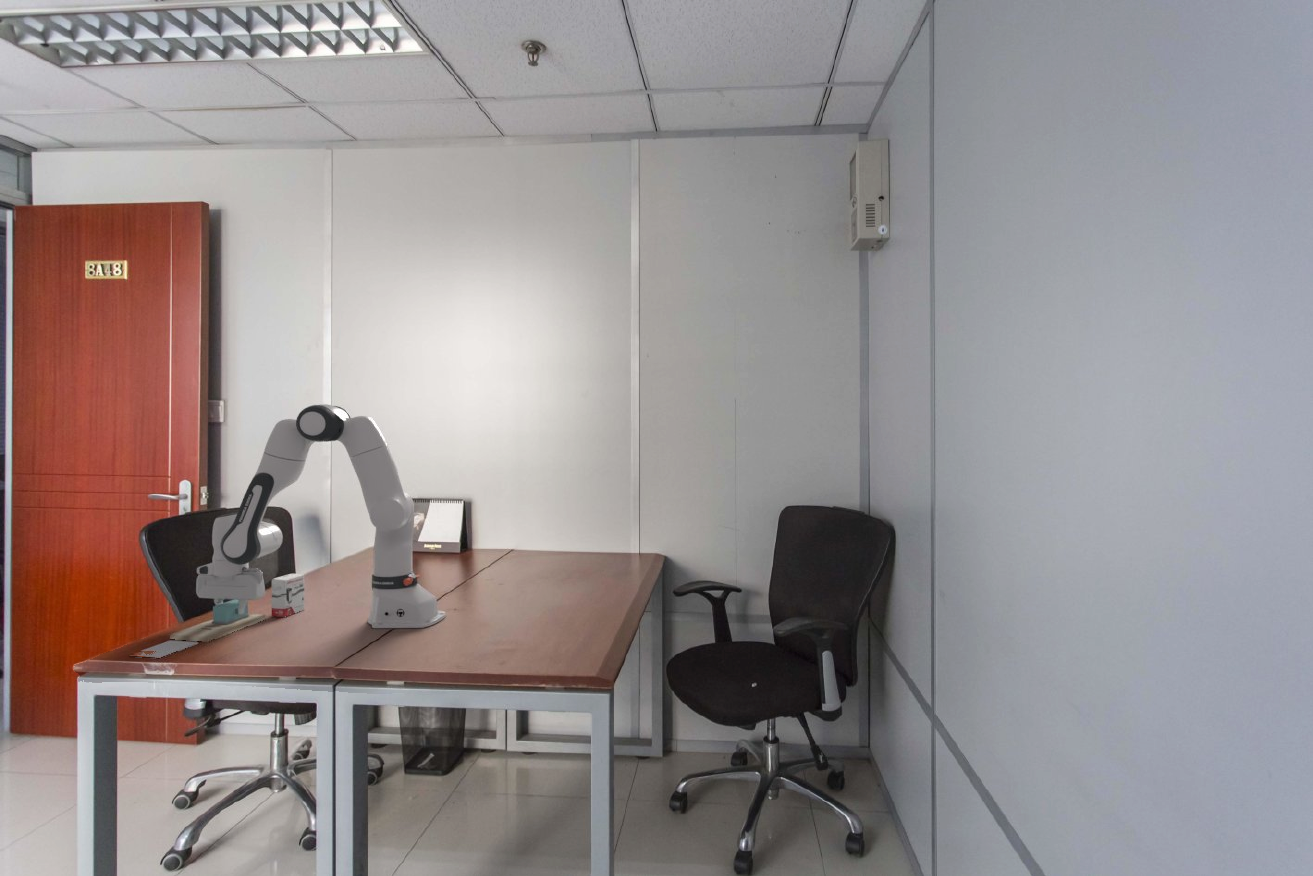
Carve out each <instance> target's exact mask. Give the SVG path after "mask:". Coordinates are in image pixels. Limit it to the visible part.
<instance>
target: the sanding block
mask: <svg viewBox="0 0 1313 876" xmlns="http://www.w3.org/2000/svg"><path fill="white" fill-rule="evenodd" d="M239 604H240V603H238V600H235V599H230V600H229V601H225V602H223V603H222V604H219V605H216V604H215V605H213V606H212V619H213V621H212V624H225V625H227V624H229V623H232V622H235V621H238V620H240V619H243V618H246V617H249V614H250V613H248V611H249V609H248V608H249V606H248V604H249V601H248V602H247V604H246V606H245V607H244V613H243V614H235V612H236V611H235V609H236V608H238V607H239Z"/></svg>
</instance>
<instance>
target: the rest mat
mask: <svg viewBox="0 0 1313 876" xmlns="http://www.w3.org/2000/svg"><path fill="white" fill-rule="evenodd" d="M198 644H199V642H197V641H182V640H170V639H169V640H167V641H165V642H162V643H158V644H156V645H153V646H151V647H148V648H145V649H142V650H141V651H154V652H155V651H156V652H155V653H154V652H153V654H152V653H151V654H152V655H151V654H150V655H149V654H147V655H146V654H145V653H144V652H143V653H142V654H141V655H137V656H146V657H155V658H154V659H156V658H160V659H162V658H161V657H163V656H165V657H167V656H166V655H168V654H170V655H172V654H171V653H173V652H176V651H178V652H181V651H183V650H185V648H186V649H188V647H189V648H191V647H193V646H196V645H198ZM176 653H177V652H176ZM173 654H174V653H173ZM168 656H169V655H168ZM163 658H164V657H163Z"/></svg>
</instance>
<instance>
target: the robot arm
mask: <svg viewBox="0 0 1313 876" xmlns="http://www.w3.org/2000/svg"><path fill="white" fill-rule="evenodd" d="M335 441H338V442H340V443H341V444H342V445H343V446H344V448H345V450H346V452H347V455H348V457H349V460H350V462H351V465H352V467H353V469H354V472H355V475H356V476H357V479H358V481H359V485H360V489H361V491H362V496H363V498H364V502H365V503H364V504H365V506H366V510H367V513H368V515H369V520H370V522H371V523H372V525H373V526H374V527H375V533H374V535H375V536H374V544H373V549H372V550H373V552H372V553H373V555H372V557H373V558H372V559H373V574H372V575H371V588H372V597H371V604H370V605H371V606H370V610H369V615H368V618H367V623H368V624H370V625H371V627H372V629H412V628H413V629H420V628H421V629H424V628H427V627H431V626H432V625H435V624H437V623H439V622H441V621H443V619H445V618H446V611H443V610H439V607H438V606H439V605H438V601H437V598H436V596H435V595H434V594H432V593H430V591H428V590H427V589H425V588H424V587H423V586H421V585H420V584H419V581H418V579H420V578H421V573H419V574H417V575H416V573H415V572H414V570H413V543H414V542H413V541H414V529H415V526H414V525H415V503H414V500H413V497H412V496H410V494H409V493H407V492H405V491H404V490H403V486H402V484H401V480H400V479H401V478H400V477H399V472H398V468H397V466H396V463H395V461H394V458H393V456H392V453H391V451H390V448H389V446H388V444H387V441H386V439H385V437H384V435H383V433H382V431H381V429H380V428H379V427H378V425H377V424H376V422H375V420H373V418H372V417H369V416H366V415H365V416H364V415H360V416H359V415H358V416H353V417H352V416H351V415H350V413H349V412H348V411H347V410H346V409H344V408H343V407H341V406H338V405H332V404H326V403H325V404H313V405H309V406H307V407H305V408H303V409H302V410H301V411H300V412H299V414H298V415H297V417H296V419H294V418H287V419H286V418H285V419H282V420H279V421H278V422H276V424H275V425H274V427H273V428H272V431H271V432H270V435H269V437H268V440H267V442H266V444H265V447H264V450H263V454H262V457H261V460H260V462H259V465H258V467H257V470H256V472H255V474H254V476H253V477H252V479H251V481H250V483H249V484H248V486H247V489H246V491H245V494H244V496H243V499H242V500H241V504H240V505H239V509H238V510H237V511H235V512H231V513H226V514H221V515H218V516H217V517H216V518H215V520H214V522H213V525H212V531H211V532H212V534H211V539H212V540H211V543H212V548H213V555H212V558H211V559H212V562H209V563H207V564H204V565H201V566H198V567H197V568H196V573H197V575H198V576H196V582H195V583H196V585H195V586H196V587H195V592H196V595H197V597H198V598H199V599H213V603H214V604H215V606H216V605H219V604H222V603H224V600H234V599H235V600H238V603H240V604H239V607H238V608H236V609H235V611H236V612H235V614H243V613H244V607H245V606H246V604H247V602H248V603H249V601H258V600H259V599H263V598H264V596H265V595H266V587H265V580H264V575H263V574H264V573H263V572H262V571H261V570H260V569H259V568H257V567H250V565H249V564H250V563H251V562H253V561H255V560H256V559H259V558H262V557H265V556H267V555H269V554H273V553H274V552H276V551H277V550H279V549H280V547H281V546H282V544H283V542H284V535H283V534H284V533H283V532H282V530H281V528H280V527H279V526H278V525H277V524H275V523H273V522H272V523H271V522H265V521H263V519H264V517H265V514H266V511H267V508H268V506H269V504H270V502H271V501H272V500H273V499H274V497H276V495H277V494H279V493H281V492H282V491H283V490H285V489H286V488H288V487H289V486H291V485H294V483H296V482H297V481H298V480H299V478H300V477H301V475H302V472H303V471H304V468H305V465H306V463H307V462H306V461H307V458H308V454H309V451H310V448H311V446H312V445H313V444H314V443H317V442H318V443H320V442H323V443H325V442H335Z"/></svg>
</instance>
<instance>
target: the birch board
mask: <svg viewBox="0 0 1313 876" xmlns="http://www.w3.org/2000/svg"><path fill="white" fill-rule="evenodd" d="M248 614H249V617H246V618H243V619H240V620H238V621H235V622H232V623H229V624H227V625H225V624H212V621H213V618H212V619H209V620H206V621H204V622H201V623H198V624H196V625H192V626H190V627H186V628H183V629H181V630H178V631H176V632H173V633H170V634H169V640H170V639H175V640H174V641H182V640H186V642H197V641H202V642H201V643H209V641H210V642H212V641H214V640H213V639H215V640H217V639H219V638H222V636H223V637H225V636H227V634H228V635H230V634H233V633H235V632H237V630H238V631H240V629H241V630H243V629H245V628H244V627H246V626H248V627H250V626H253V625H256V624H258V622H259V623H261V622H264V621H266V620H265V619H266V614H257V613H255V614H254V613H248ZM263 620H264V621H263ZM260 621H261V622H260ZM242 628H243V629H242ZM246 628H247V627H246ZM234 631H235V632H234ZM232 632H233V633H232ZM211 640H212V641H211Z"/></svg>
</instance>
